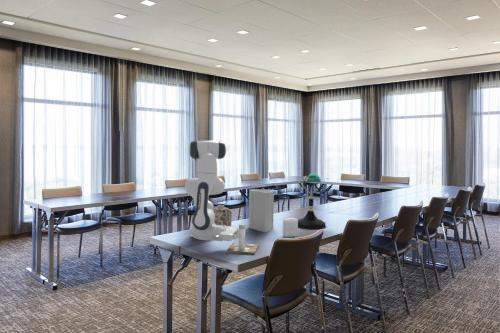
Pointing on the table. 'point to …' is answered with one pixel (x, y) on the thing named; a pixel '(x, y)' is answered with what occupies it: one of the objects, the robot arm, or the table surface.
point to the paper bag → (261, 209)
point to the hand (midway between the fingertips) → (243, 234)
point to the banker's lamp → (310, 218)
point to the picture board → (249, 249)
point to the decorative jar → (222, 215)
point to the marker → (242, 240)
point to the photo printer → (290, 227)
